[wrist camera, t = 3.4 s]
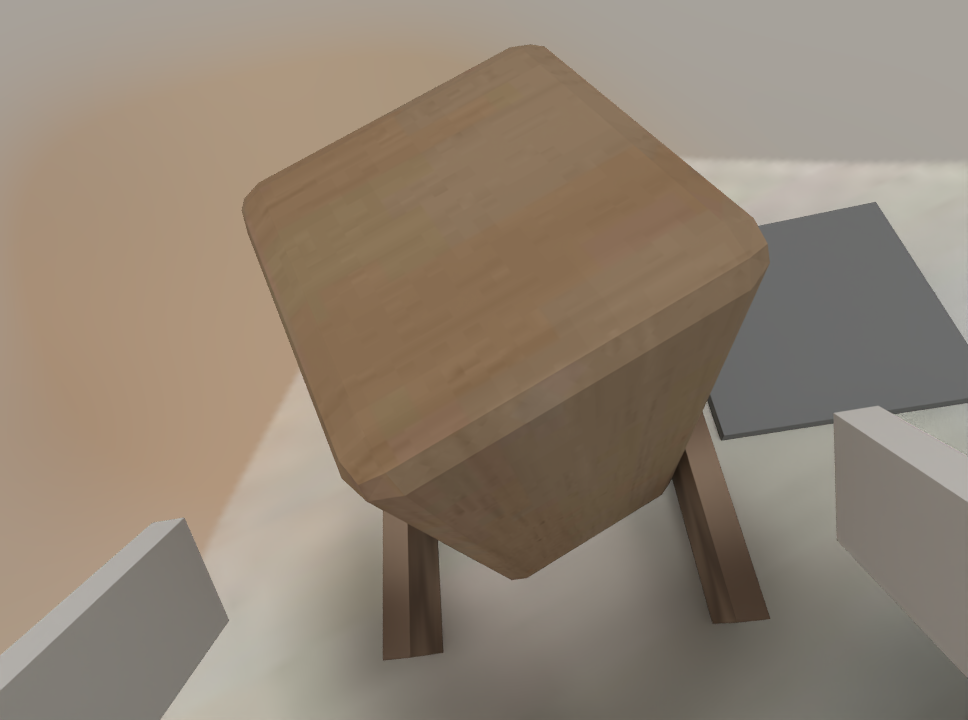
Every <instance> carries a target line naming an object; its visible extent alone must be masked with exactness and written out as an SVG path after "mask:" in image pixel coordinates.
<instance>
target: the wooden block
mask: <svg viewBox="0 0 968 720" xmlns="http://www.w3.org/2000/svg"><path fill="white" fill-rule="evenodd" d="M242 213H243V217H244V221H245V224H246V228H247V232H248V235H249V238H250V240H251V243H252V245H253V248H254V250H255V253H256V256H257V259H258V261H259V264H260V266H261V269H262V271H263V274H264V277H265V279H266V282H267V285H268V287H269V290H270V292H271V295H272V298H273V300H274V303H275V305H276V308H277V311H278V313H279V316H280V319H281V321H282V324H283V326H284V329H285V332H286V334H287V337H288V339H289V342H290V344H291V347H292V350H293V352H294V355H295V358H296V360H297V363H298V366H299V368H300V371H301V373H302V376H303V379H304V381H305V384H306V386H307V389H308V392H309V394H310V397H311V399H312V402H313V405H314V407H315V410H316V412H317V415H318V418H319V420H320V423H321V426H322V428H323V431H324V433H325V436H326V439H327V441H328V444H329V446H330V449H331V452H332V454H333V457H334V459H335V462H336V465H337V467H338V470H339V472H340V475H341V478H342V479H343V480H344V481H345V482H346V483H347V484H348V485H350V486H351V487H352V488H353V489H354V490H355V491H356V492H357V493H358V494H359V495H360V496H361V497H363V498H364V499H365V500H366V501H367V502H369V503H371V504H372V505H374V506H376V507H378V508H380V509H382V510H383V511H385V512H387V513H389V514H391V515H393V516H395V517H396V518H398V519H400V520H402V521H404V522H406V523H407V524H409V525H411V526H413V527H415V528H417V529H419V530H420V531H422V532H424V533H426V534H428V535H430V536H431V537H433V538H435V539H437V540H439V541H441V542H443V543H444V544H446V545H448V546H450V547H452V548H454V549H455V550H457V551H459V552H461V553H463V554H465V555H467V556H468V557H470V558H472V559H474V560H476V561H478V562H479V563H481V564H483V565H485V566H487V567H489V568H491V569H492V570H494V571H496V572H498V573H500V574H502V575H503V576H505V577H507V578H509V579H511V580H514V579H522V578H527V577H529V576H531V575H532V574H534V573H535V572H537V571H539V570H540V569H542V568H544V567H545V566H547V565H548V564H550V563H552V562H553V561H555V560H556V559H558V558H560V557H561V556H563V555H565V554H566V553H568V552H569V551H571V550H573V549H574V548H576V547H578V546H579V545H581V544H582V543H584V542H586V541H587V540H589V539H591V538H592V537H594V536H595V535H597V534H599V533H600V532H602V531H603V530H605V529H607V528H608V527H610V526H612V525H613V524H615V523H616V522H618V521H620V520H621V519H623V518H625V517H626V516H628V515H629V514H631V513H633V512H634V511H636V510H637V509H639V508H641V507H642V506H644V505H646V504H647V503H649V502H650V501H652V500H654V499H655V498H657V497H659V496H660V495H662V493H663V492H664V490H665V489H666V487H667V486H668V484H669V483H670V481H671V479H672V477H673V474H674V472H675V470H676V468H677V466H678V463H679V461H680V459H681V457H682V455H683V452H684V450H685V448H686V446H687V444H688V441H689V439H690V437H691V435H692V433H693V430H694V428H695V426H696V424H697V422H698V419H699V417H700V415H701V413H702V411H703V408H704V406H705V404H706V402H707V400H708V398H709V395H710V393H711V391H712V389H713V387H714V384H715V382H716V380H717V378H718V376H719V373H720V371H721V369H722V367H723V365H724V362H725V360H726V358H727V356H728V354H729V351H730V349H731V347H732V345H733V343H734V340H735V338H736V336H737V334H738V332H739V330H740V327H741V325H742V323H743V321H744V319H745V316H746V314H747V312H748V310H749V308H750V305H751V303H752V301H753V299H754V297H755V294H756V292H757V290H758V288H759V286H760V283H761V281H762V279H763V277H764V275H765V272H766V270H767V268H768V266H769V264H770V260H769V250H768V243H767V241H766V240H765V238H764V236H763V234H762V232H761V231H760V229H759V227H758V225H757V223H756V222H755V220H754V218H753V217H751V216H750V215H749V214H748V213H747V212H745V211H744V210H743V209H742V208H740V207H739V206H738V205H737V204H736V203H734V202H733V201H732V200H731V199H729V198H728V197H727V196H726V195H725V194H723V193H722V192H721V191H720V190H719V189H717V188H716V187H715V186H714V185H712V184H711V183H710V182H709V181H708V180H706V179H705V178H704V177H703V176H701V175H700V174H699V173H698V172H697V171H695V170H694V169H693V168H692V167H691V166H689V165H688V164H687V163H686V162H684V161H683V160H682V159H681V158H680V157H678V156H677V155H676V154H675V153H673V152H672V151H671V150H670V149H669V148H667V147H666V146H665V145H664V144H662V143H661V142H660V141H659V140H658V139H656V138H655V137H654V136H653V135H652V134H650V133H649V132H648V131H647V130H645V129H644V128H643V127H642V126H640V125H639V124H638V123H637V122H636V121H634V120H633V119H632V118H631V117H630V116H628V115H627V114H626V113H625V112H623V111H622V110H621V109H620V108H619V107H617V106H616V105H615V104H614V103H613V102H611V101H610V100H609V99H608V98H606V97H605V96H604V95H602V94H601V93H600V92H599V91H598V90H597V89H595V88H594V87H593V86H592V85H591V84H589V83H588V82H587V81H586V80H584V79H583V78H582V77H581V76H580V75H578V74H577V73H576V72H575V71H574V70H572V69H571V68H570V67H569V66H567V65H566V64H565V63H564V62H563V61H561V60H560V59H559V58H558V57H556V56H555V55H554V54H553V53H552V52H550V51H549V50H548V49H547V48H545V47H544V46H537V45H524V46H517V47H511V48H508V49H506V50H504V51H503V52H501V53H499V54H497V55H495V56H494V57H491V58H490V59H488V60H486V61H484V62H482V63H481V64H478V65H477V66H475V67H473V68H471V69H469V70H467V71H465V72H464V73H462V74H460V75H458V76H456V77H454V78H453V79H451V80H449V81H447V82H445V83H443V84H441V85H440V86H438V87H436V88H434V89H432V90H430V91H428V92H426V93H425V94H423V95H421V96H419V97H417V98H415V99H413V100H412V101H410V102H408V103H406V104H404V105H402V106H400V107H399V108H397V109H395V110H393V111H391V112H389V113H387V114H386V115H384V116H382V117H380V118H378V119H376V120H374V121H373V122H371V123H369V124H367V125H365V126H363V127H361V128H360V129H358V130H356V131H354V132H352V133H350V134H348V135H347V136H345V137H343V138H341V139H339V140H337V141H335V142H334V143H332V144H330V145H328V146H326V147H324V148H322V149H321V150H319V151H317V152H315V153H313V154H311V155H309V156H308V157H306V158H304V159H302V160H300V161H298V162H296V163H295V164H293V165H291V166H289V167H287V168H285V169H283V170H282V171H280V172H278V173H276V174H274V175H272V176H270V177H268V178H267V179H265V180H263V181H261V182H259V183H258V184H257V185H256V186H255V188H254V189H253V190H252V191H251V192H250V193H249V194H248V195H247V196H246V197H245V199H244V202H243V207H242Z"/></svg>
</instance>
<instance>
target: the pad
mask: <svg viewBox="0 0 968 720" xmlns="http://www.w3.org/2000/svg"><path fill="white" fill-rule="evenodd" d="M758 227H759V229H760V231H761V232H762V234H763V236H764V238H765V240H766V241H767V243H768V250H769V260H770V264H769V266H768V268H767V270H766V272H765V275H764V277H763V279H762V281H761V283H760V286H759V288H758V290H757V292H756V294H755V297H754V299H753V301H752V303H751V305H750V308H749V310H748V312H747V314H746V316H745V319H744V321H743V323H742V325H741V327H740V330H739V332H738V334H737V336H736V338H735V340H734V343H733V345H732V347H731V349H730V351H729V354H728V356H727V358H726V360H725V362H724V365H723V367H722V369H721V371H720V373H719V376H718V378H717V380H716V382H715V384H714V387H713V389H712V391H711V393H710V395H709V398H708V403H709V406H710V409H711V412H712V415H713V418H714V421H715V424H716V427H717V430H718V432H719V435H720V438H721V440H727V439H734V438H740V437H747V436H754V435H760V434H767V433H773V432H780V431H786V430H793V429H799V428H806V427H812V426H819V425H825V424H832V423H834V415H833V413H836V412H842V411H848V410H855V409H861V408H867V407H873V406H880V407H882V408H883V409H885V410H887V411H889V412H890V413H892V414H897V413H904V412H910V411H917V410H924V409H930V408H937V407H943V406H950V405H956V404H963V403H968V344H967V343H966V341H965V339H964V338H963V336H962V335H961V333H960V332H959V330H958V329H957V327H956V325H955V324H954V322H953V321H952V319H951V318H950V316H949V315H948V313H947V312H946V310H945V308H944V307H943V305H942V304H941V302H940V301H939V299H938V298H937V296H936V294H935V293H934V291H933V290H932V288H931V287H930V285H929V284H928V282H927V281H926V279H925V277H924V276H923V274H922V273H921V271H920V270H919V268H918V267H917V265H916V263H915V262H914V260H913V259H912V257H911V256H910V254H909V253H908V251H907V250H906V248H905V246H904V245H903V243H902V242H901V240H900V239H899V237H898V236H897V234H896V232H895V231H894V229H893V228H892V226H891V225H890V223H889V222H888V220H887V219H886V217H885V215H884V214H883V212H882V211H881V209H880V208H879V206H878V205H877V203H876V202H873V203H868V204H863V205H858V206H854V207H849V208H844V209H839V210H834V211H829V212H824V213H819V214H815V215H810V216H805V217H800V218H795V219H790V220H785V221H780V222H775V223H771V224H766V225H761V226H758Z"/></svg>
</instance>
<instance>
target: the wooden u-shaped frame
mask: <svg viewBox="0 0 968 720" xmlns="http://www.w3.org/2000/svg"><path fill="white" fill-rule="evenodd" d="M672 479H673V483H674V486H675V490H676V493H677V497H678V501H679V504H680V508H681V511H682V515H683V519H684V522H685V526H686V529H687V533H688V537H689V540H690V544H691V547H692V551H693V555H694V558H695V562H696V565H697V569H698V573H699V576H700V580H701V583H702V587H703V591H704V594H705V598H706V601H707V605H708V609H709V612H710V616H711V619H712V623H713V624H718V623H738V622H747V621H756V620H766V619H770V616H769V613H768V610H767V607H766V604H765V601H764V598H763V595H762V592H761V589H760V586H759V583H758V580H757V577H756V574H755V570H754V567H753V564H752V561H751V558H750V555H749V552H748V549H747V546H746V543H745V540H744V537H743V534H742V531H741V528H740V525H739V522H738V519H737V516H736V513H735V509H734V506H733V503H732V500H731V497H730V494H729V491H728V488H727V485H726V482H725V479H724V476H723V473H722V470H721V467H720V464H719V461H718V458H717V455H716V452H715V448H714V445H713V442H712V439H711V436H710V433H709V430H708V427H707V424H706V421H705V418H704V415H703V412H702V413H701V415H700V417H699V419H698V422H697V424H696V426H695V428H694V430H693V433H692V435H691V437H690V439H689V441H688V444H687V446H686V448H685V450H684V452H683V455H682V457H681V459H680V461H679V463H678V466H677V468H676V470H675V472H674V474H673V477H672ZM438 653H443V640H442V619H441V599H440V578H439V558H438V540H437V539H435V538H433V537H431V536H430V535H428V534H426V533H424V532H422V531H420V530H419V529H417V528H415V527H413V526H411V525H409V524H407V523H406V522H404V521H402V520H400V519H398V518H396V517H395V516H393V515H391V514H389V513H387V512H385V511H383V660H392V659H401V658H410V657H417V656H424V655H431V654H438Z"/></svg>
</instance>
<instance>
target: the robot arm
mask: <svg viewBox="0 0 968 720" xmlns="http://www.w3.org/2000/svg"><path fill="white" fill-rule="evenodd" d="M833 415H834V453H835V492H836V531H837V541H838V542H839V543H840V544H841V545H842V546H843V547H844V548H845V549H846V550H847V551H848V552H849V553H850V555H851V556H852V557H853V558H854V559H855V560H856V561H857V562H858V563H859V564H860V565H861V566H862V567H863V568H864V569H865V570H866V571H867V572H868V574H869V575H870V576H871V577H872V578H873V579H874V580H875V581H876V582H877V583H878V584H879V585H880V586H881V587H882V588H883V589H884V590H885V592H886V593H887V594H888V595H889V596H890V597H891V598H892V599H893V600H894V601H895V602H896V603H897V604H898V605H899V606H900V607H901V608H902V609H903V611H904V612H905V613H906V614H907V615H908V616H909V617H910V618H911V619H912V620H913V621H914V622H915V623H916V624H917V625H918V626H919V627H920V629H921V630H922V631H923V632H924V633H925V634H926V635H927V636H928V637H929V638H930V639H931V640H932V641H933V642H934V643H935V644H936V645H937V646H938V648H939V649H940V650H941V651H942V652H943V653H944V654H945V655H946V656H947V657H948V658H949V659H950V660H951V661H952V662H953V663H954V664H955V665H956V667H957V668H958V669H959V670H960V671H961V672H962V673H963V674H964V675H965V676H966V677H967V678H968V456H967V455H965V454H964V453H962V452H960V451H958V450H956V449H955V448H953V447H951V446H949V445H947V444H946V443H944V442H942V441H940V440H939V439H937V438H935V437H933V436H931V435H930V434H928V433H926V432H924V431H923V430H921V429H919V428H917V427H915V426H914V425H912V424H910V423H908V422H907V421H905V420H903V419H901V418H899V417H898V416H896V415H894V414H892V413H890V412H889V411H887V410H885V409H883V408H882V407H880V406H873V407H867V408H861V409H855V410H848V411H842V412H836V413H833ZM228 621H229V619H228V617H227V614H226V612H225V610H224V607H223V605H222V603H221V601H220V598H219V596H218V594H217V591H216V589H215V587H214V585H213V582H212V580H211V578H210V575H209V573H208V571H207V568H206V566H205V564H204V562H203V559H202V557H201V555H200V552H199V550H198V548H197V546H196V543H195V541H194V539H193V536H192V534H191V532H190V529H189V527H188V525H187V523H186V520H185V518H179V519H173V520H166V521H160V522H154V523H152V524H150V525H149V526H148V527H147V528H146V529H145V530H143V531H142V532H141V533H140V534H139V535H138V536H137V537H135V538H134V539H133V540H132V541H131V542H130V543H129V544H127V545H126V546H125V547H124V548H123V549H122V550H121V551H119V552H118V553H117V554H116V555H115V556H114V557H112V558H111V559H110V560H109V561H108V562H107V563H106V564H104V565H103V566H102V567H101V568H100V569H99V570H98V571H96V573H94V574H93V575H92V576H91V577H90V578H89V579H87V580H86V581H85V582H84V583H83V584H82V585H80V586H79V587H78V588H77V589H76V590H75V591H73V592H72V593H71V594H70V595H69V596H68V597H67V598H65V599H64V600H63V601H62V602H61V603H60V604H59V605H57V606H56V607H55V608H54V609H53V610H52V611H50V612H49V613H48V614H47V615H46V616H45V617H44V618H43V619H41V620H40V621H39V622H38V623H37V624H36V625H34V626H33V627H32V628H31V629H30V630H29V631H28V632H26V633H25V634H24V635H23V636H22V637H21V638H20V639H18V640H17V641H16V642H15V643H14V644H13V645H11V647H9V648H8V649H7V650H6V651H5V652H4V653H2V654H1V655H0V720H160V719H161V718H162V716H163V715H164V713H165V712H166V711H167V709H168V708H169V706H170V705H171V703H172V702H173V700H174V699H175V698H176V696H177V695H178V693H179V692H180V690H181V689H182V688H183V686H184V685H185V683H186V682H187V680H188V679H189V677H190V676H191V675H192V673H193V672H194V670H195V669H196V667H197V666H198V665H199V663H200V662H201V660H202V659H203V657H204V656H205V654H206V653H207V652H208V650H209V649H210V647H211V646H212V644H213V643H214V641H215V640H216V639H217V637H218V636H219V634H220V633H221V631H222V630H223V629H224V627H225V626H226V624H227V623H228Z"/></svg>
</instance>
